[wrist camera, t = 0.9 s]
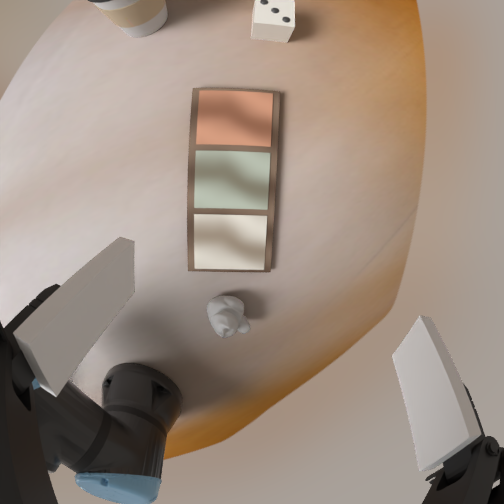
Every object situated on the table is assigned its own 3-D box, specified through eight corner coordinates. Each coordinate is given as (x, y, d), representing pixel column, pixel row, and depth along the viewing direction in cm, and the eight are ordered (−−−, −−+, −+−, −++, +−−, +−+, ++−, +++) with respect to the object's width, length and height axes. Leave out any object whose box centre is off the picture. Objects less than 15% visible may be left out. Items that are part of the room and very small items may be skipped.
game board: (269, 269, 38) (270, 272, 37) (189, 268, 37) (188, 271, 36) (278, 93, 32) (280, 91, 30) (193, 90, 30) (192, 87, 29)
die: (286, 42, 29) (295, 27, 25) (250, 39, 29) (254, 22, 24) (287, 17, 28) (294, 0, 23) (252, 13, 28) (255, -5, 23)
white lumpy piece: (219, 282, 38) (218, 309, 30) (258, 305, 40) (265, 335, 32) (199, 310, 39) (194, 341, 31) (237, 331, 41) (239, 364, 33)
